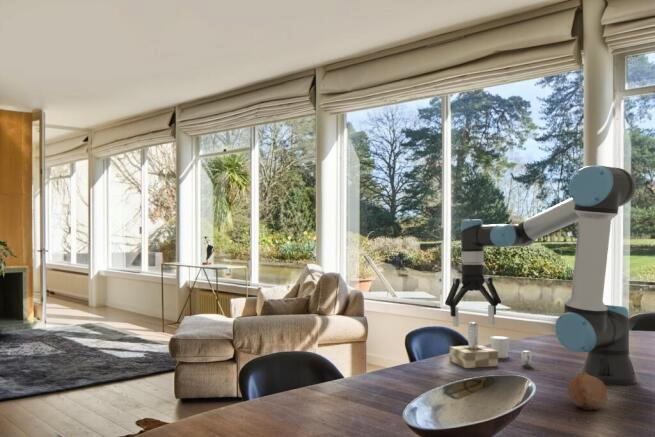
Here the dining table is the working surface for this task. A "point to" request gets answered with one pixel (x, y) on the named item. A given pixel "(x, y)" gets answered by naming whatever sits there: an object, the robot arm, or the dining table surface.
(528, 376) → the dining table surface
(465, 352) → the hole block
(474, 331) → the long pin
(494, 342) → the shot glass
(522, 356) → the short pin
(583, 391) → the onion
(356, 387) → the dining table surface
